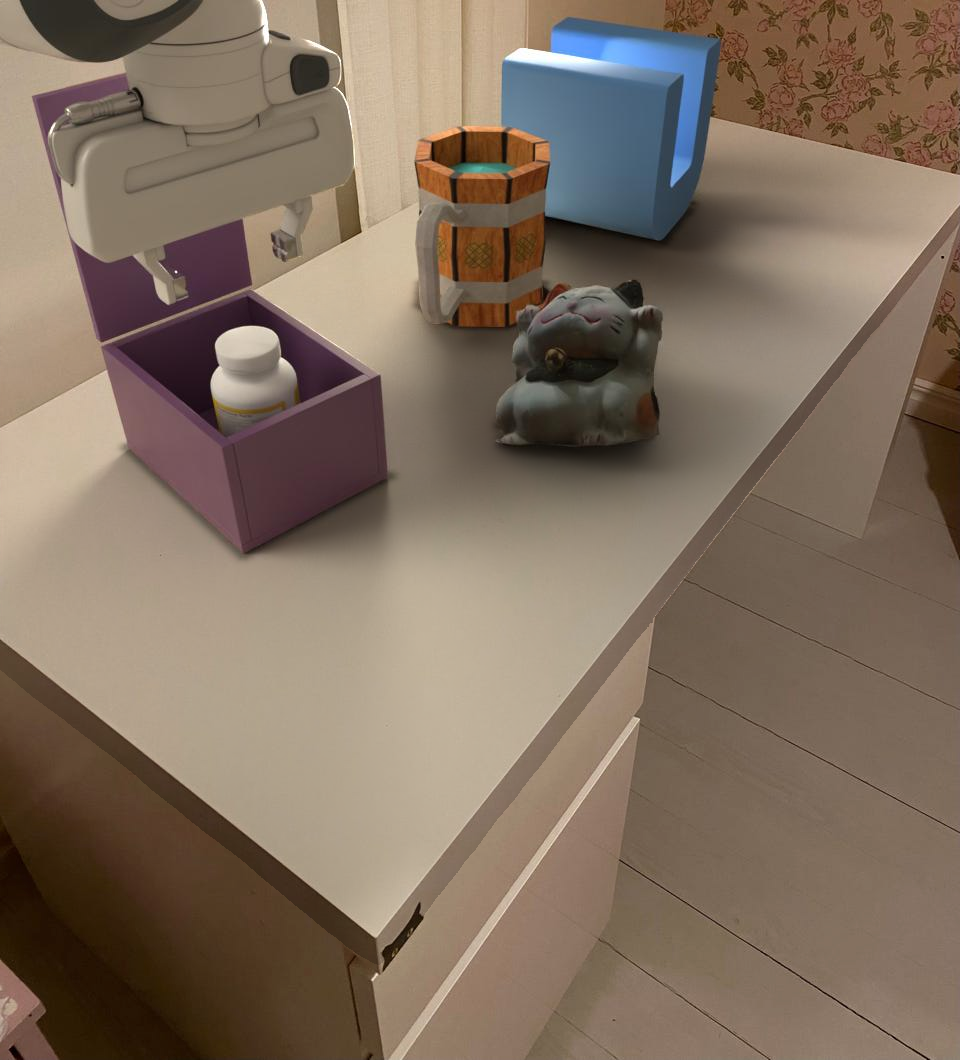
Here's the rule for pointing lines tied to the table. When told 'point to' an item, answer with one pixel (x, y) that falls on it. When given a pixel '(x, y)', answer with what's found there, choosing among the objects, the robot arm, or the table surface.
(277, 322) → the box
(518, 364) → the lucky cat figurine
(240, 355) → the pill bottle
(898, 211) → the table surface
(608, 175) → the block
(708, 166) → the table surface
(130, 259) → the lid
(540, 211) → the wooden beer tankard
